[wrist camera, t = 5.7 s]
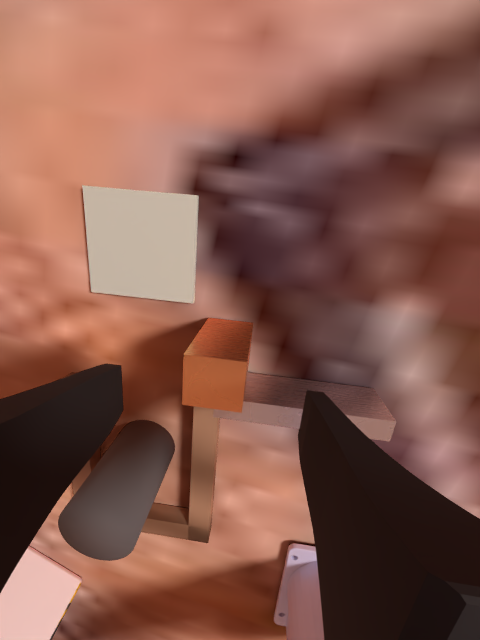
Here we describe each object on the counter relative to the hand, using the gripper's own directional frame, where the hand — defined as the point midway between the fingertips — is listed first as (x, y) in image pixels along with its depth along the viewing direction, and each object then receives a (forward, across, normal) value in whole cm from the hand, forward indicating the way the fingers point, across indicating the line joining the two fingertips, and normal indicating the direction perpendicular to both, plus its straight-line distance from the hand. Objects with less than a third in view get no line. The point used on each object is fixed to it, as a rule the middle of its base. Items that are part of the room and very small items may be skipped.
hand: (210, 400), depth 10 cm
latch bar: (+6, -4, +1) cm, 7 cm away
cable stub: (+6, +5, +8) cm, 12 cm away
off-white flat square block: (+6, +5, -5) cm, 9 cm away
